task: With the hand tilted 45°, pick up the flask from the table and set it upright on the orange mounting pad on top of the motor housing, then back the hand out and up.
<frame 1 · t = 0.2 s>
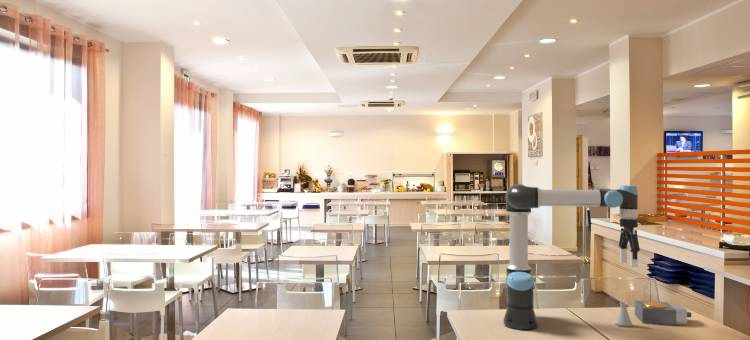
hand: (628, 264, 226), 28 cm above the table, tool pointing down, fingers open, 13 cm apart
motor housing: (654, 319, 232), on the table
flask: (623, 325, 225), on the table
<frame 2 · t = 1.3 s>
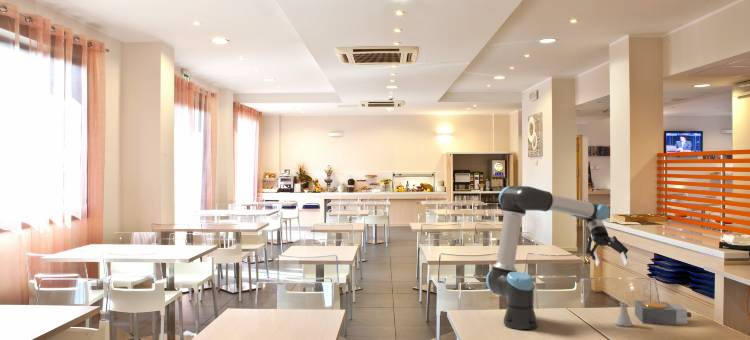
hand: (612, 264, 236), 26 cm above the table, tool tilted 45°, fingers open, 13 cm apart
nothing on the table moved.
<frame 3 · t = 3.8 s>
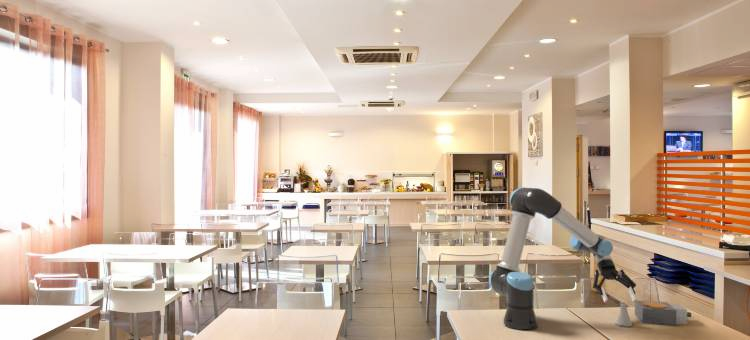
hand: (620, 300, 230), 10 cm above the table, tool tilted 45°, fingers open, 13 cm apart
nothing on the table moved.
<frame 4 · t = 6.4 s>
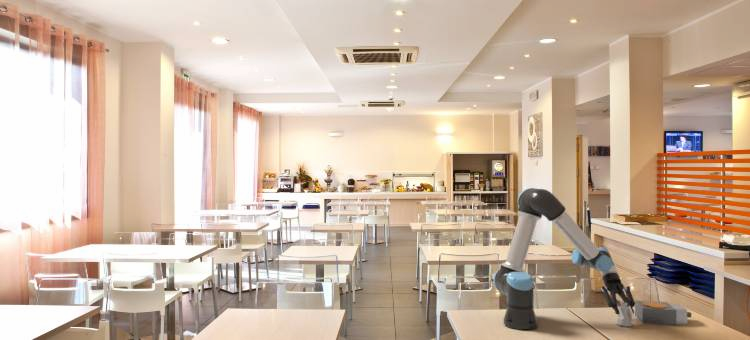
hand: (628, 320, 221), 3 cm above the table, tool tilted 45°, fingers closed on flask, 4 cm apart
flask: (624, 325, 225), on the table, touching gripper
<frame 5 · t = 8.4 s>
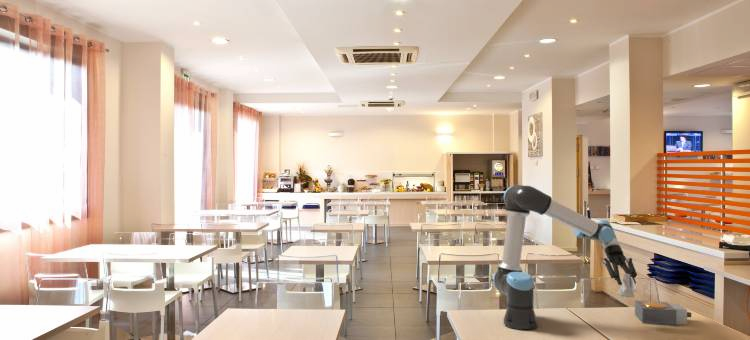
hand: (630, 290, 222), 17 cm above the table, tool tilted 45°, fingers closed on flask, 4 cm apart
flask: (625, 296, 226), point 13 cm above the table, touching gripper
when the fingers open (12 cm above the table, at t = 10.6 s): flask drops 1 cm, resting on motor housing.
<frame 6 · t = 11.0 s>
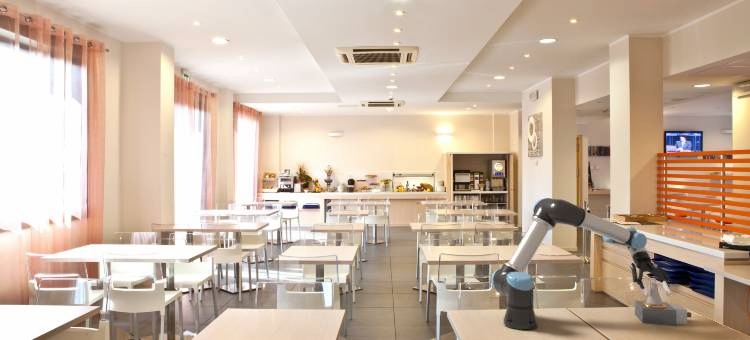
hand: (658, 294, 229), 13 cm above the table, tool tilted 45°, fingers open, 9 cm apart
flask: (654, 304, 232), point 7 cm above the table, touching motor housing
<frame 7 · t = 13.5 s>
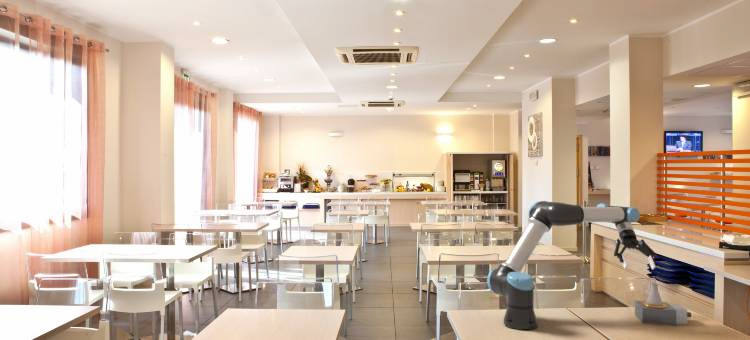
hand: (640, 267, 243), 23 cm above the table, tool tilted 40°, fingers open, 13 cm apart
nothing on the table moved.
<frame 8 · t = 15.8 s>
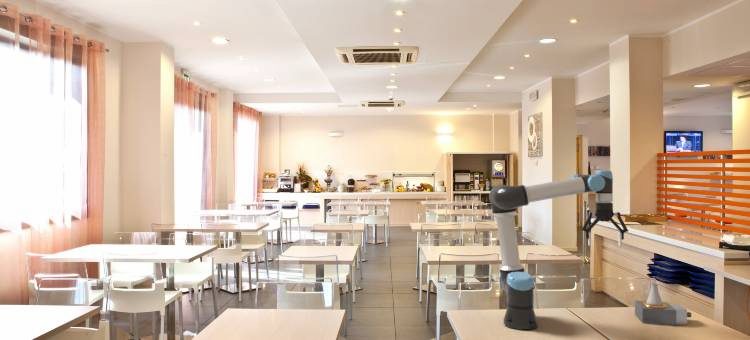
hand: (604, 246, 236), 35 cm above the table, tool pointing down, fingers open, 13 cm apart
nothing on the table moved.
at the end: flask inside the target area on the motor housing (0.1 cm from its centre), point 7.2 cm above the motor housing's base; flask tilted 0°; the gripper is holding nothing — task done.
